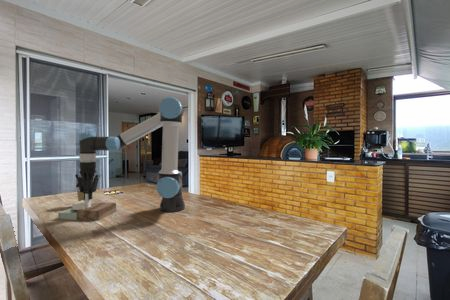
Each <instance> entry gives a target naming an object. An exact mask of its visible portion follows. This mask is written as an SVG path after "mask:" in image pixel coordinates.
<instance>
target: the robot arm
mask: <svg viewBox="0 0 450 300" xmlns="http://www.w3.org/2000/svg"><path fill="white" fill-rule="evenodd" d="M158 109H159V110H158V112H157V114H155V115H152V116H150V117H149V118H148V119H146V120H144V121H142V122H140V123H138V124H137V125H133V127H131V128H128V129H127V130H125V131H124V132H121V133H119V134H118V135H116V136H97V134H96V133H95V132H80V133H79V140H78V142H79V154H78V155H79V158H78V159H79V170H80V171H79V172H78V174H75V178H76V179H77V180H76V181H77V183H78V185H79V189H80V192H82V193H84V199H85V206H89V205H92V201H91V199H92V200H93V194H94V193H96V192H97V188H98V184H99V179H100V178H101V174H99V173H97V171H96V168H97V163H96V161H97V157H96V156H97V154H96V153H97V151H104V152H105V151H109V152H113V151H120V150H123V149H124V148H125V147H127V145H130V144H132V143H133V142H136V141H137V140H140V139H141V138H143V137H144V136H147V135H148V134H151V133H152V132H154V131H156V130H158V129H159V128H162V139H161V140H162V145H161V169H160V170H159V171H158V175H157V176H158V180H157V183H156V187H155V188H156V192H157V194H158V195H160V196H161V200H160V204H159V211H161V212H167V213H170V212H171V213H174V212H179V211H182V210H185V209H186V203H185V200H184V198H183V172H182V171H179V169H178V167H179V166H178V165H179V161H178V160H179V139H180V138H179V134H180V133H179V132H180V130H179V129H180V126H181V125H182V124H183V116H184V113H185V112H184V111H185V110H184V106H183V105H182V103H181V101H180V99H179V100H178V99H177V98H176V97H173V96H168V97H164V98H163V99H161V101H160V102H159V105H158ZM92 193H93V194H92Z"/></svg>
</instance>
